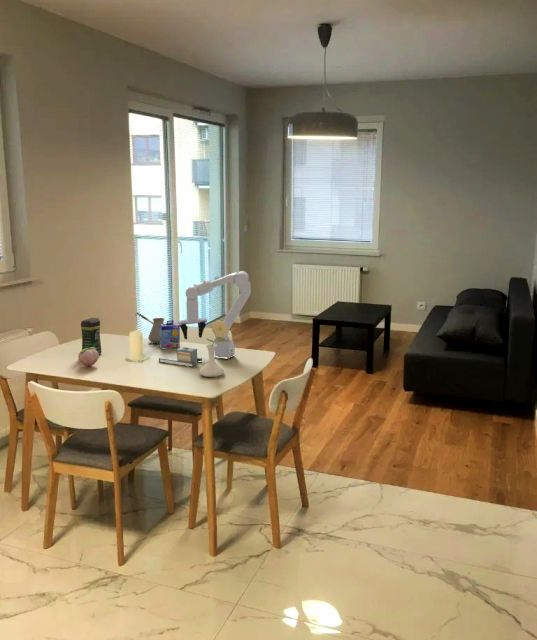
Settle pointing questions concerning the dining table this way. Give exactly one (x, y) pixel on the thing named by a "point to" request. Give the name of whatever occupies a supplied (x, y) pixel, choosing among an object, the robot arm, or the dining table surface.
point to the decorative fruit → (88, 356)
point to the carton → (187, 354)
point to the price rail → (179, 361)
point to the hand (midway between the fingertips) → (193, 338)
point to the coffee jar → (91, 334)
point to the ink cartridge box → (169, 335)
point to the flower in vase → (212, 367)
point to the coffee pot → (154, 328)
